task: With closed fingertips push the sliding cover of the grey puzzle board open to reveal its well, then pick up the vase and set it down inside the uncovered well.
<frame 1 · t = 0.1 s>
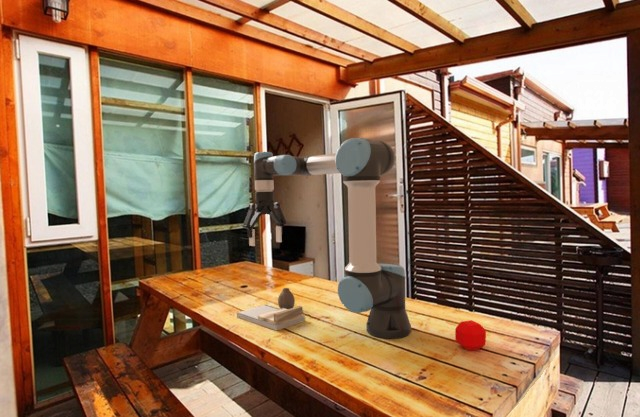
hand: (265, 243, 159), 28 cm above the table, fingers open, 13 cm apart
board: (270, 318, 152), on the table
ball: (470, 348, 120), on the table
cover: (280, 312, 147), point 4 cm above the table, slide at 0.0 cm
vase: (286, 310, 163), on the table
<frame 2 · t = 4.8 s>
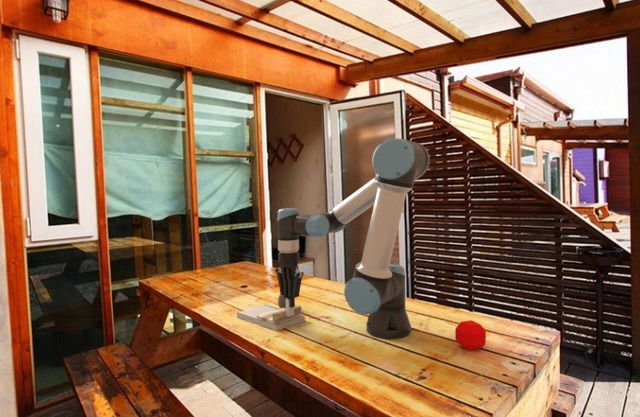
hand: (290, 315, 144), 4 cm above the table, fingers closed
cover: (279, 312, 148), point 4 cm above the table, slide at 0.6 cm, touching gripper
everything else where it was.
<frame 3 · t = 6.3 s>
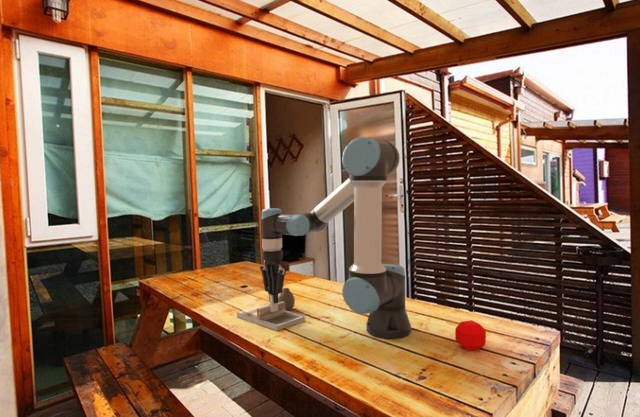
hand: (273, 310, 150), 4 cm above the table, fingers closed
cover: (263, 307, 154), point 4 cm above the table, slide at 9.8 cm, touching gripper
everything else where it was.
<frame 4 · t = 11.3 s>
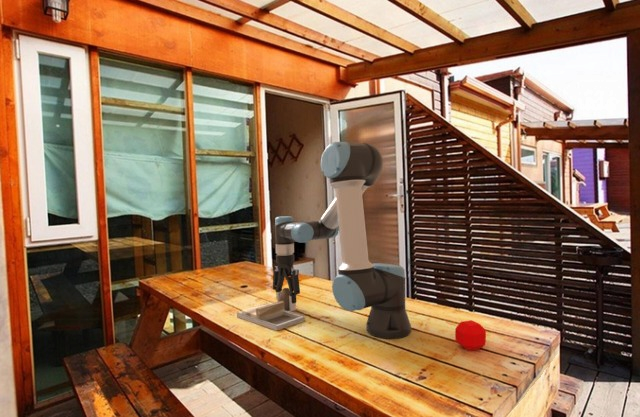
hand: (286, 308, 163), 0 cm above the table, fingers closed on vase, 7 cm apart
cover: (263, 307, 155), point 4 cm above the table, slide at 10.2 cm
vase: (286, 310, 163), on the table, touching gripper
everything else where it was.
when the fingers open (2 cm above the table, at t = 16.5 s): vase stays where it is, resting on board.
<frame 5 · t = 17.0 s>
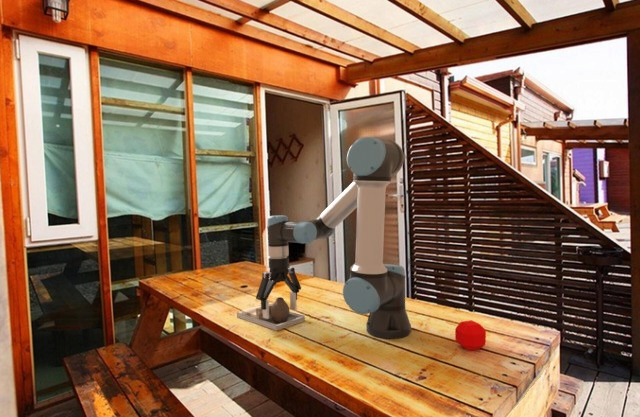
hand: (280, 313, 148), 3 cm above the table, fingers open, 13 cm apart
vase: (280, 321, 148), resting on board
everything else where it was.
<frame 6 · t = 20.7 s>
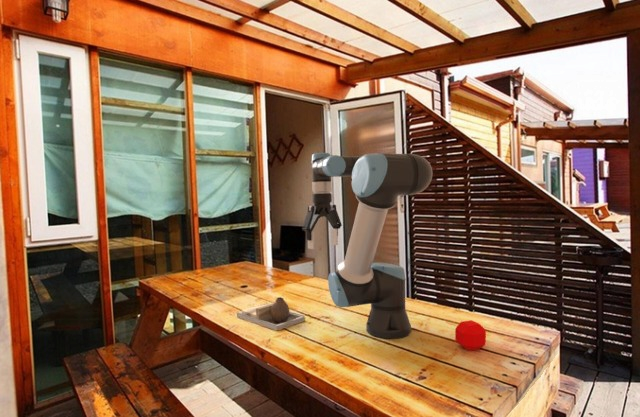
hand: (323, 246, 155), 27 cm above the table, fingers open, 13 cm apart
nothing on the table moved.
at the end: vase inside the target area on the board (0.0 cm from its centre), point 0.1 cm above the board's base; vase tilted 0°; cover slide at 10.2 cm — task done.
